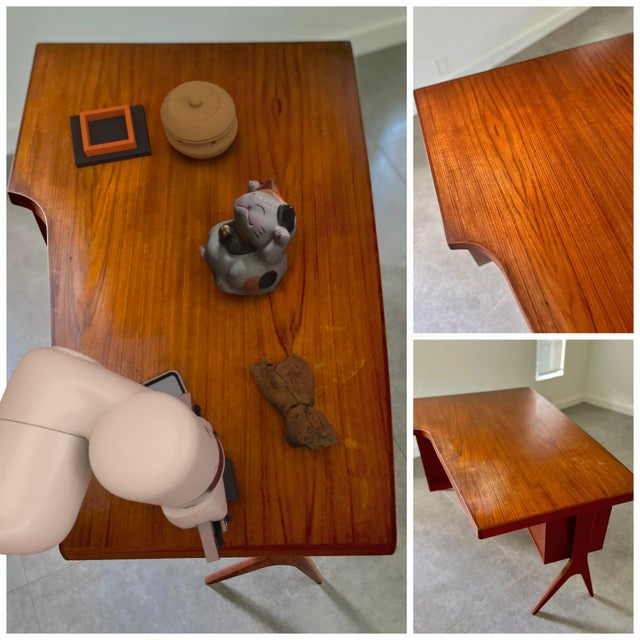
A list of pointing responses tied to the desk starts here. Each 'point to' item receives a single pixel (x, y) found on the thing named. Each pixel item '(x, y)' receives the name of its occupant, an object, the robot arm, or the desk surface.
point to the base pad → (109, 135)
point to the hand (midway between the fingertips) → (211, 479)
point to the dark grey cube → (230, 481)
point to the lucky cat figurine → (252, 242)
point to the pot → (199, 119)
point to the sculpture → (294, 401)
